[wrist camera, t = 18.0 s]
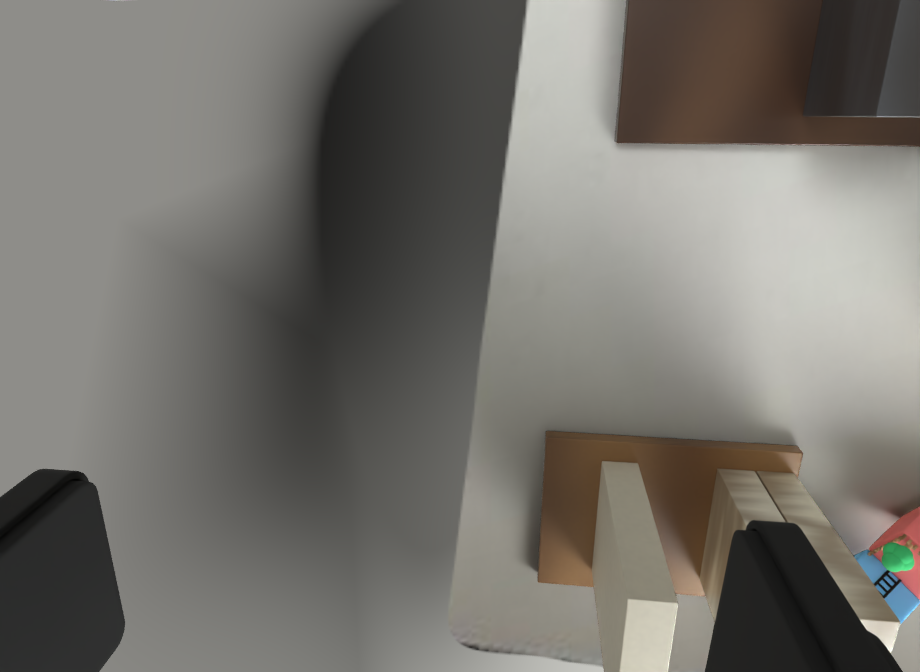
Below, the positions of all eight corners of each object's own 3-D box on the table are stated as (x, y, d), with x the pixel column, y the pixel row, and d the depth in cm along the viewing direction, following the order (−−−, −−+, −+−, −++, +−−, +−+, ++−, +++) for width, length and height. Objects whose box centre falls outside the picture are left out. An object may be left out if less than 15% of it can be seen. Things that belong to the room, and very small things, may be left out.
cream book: (591, 570, 46) (611, 735, 34) (601, 460, 43) (627, 598, 31) (625, 572, 46) (657, 740, 33) (638, 462, 43) (678, 602, 30)
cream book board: (537, 573, 48) (537, 748, 35) (545, 430, 44) (549, 566, 31) (767, 592, 46) (859, 784, 33) (797, 445, 42) (916, 596, 29)
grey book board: (614, 142, 37) (637, 150, 29) (634, -99, 33) (667, -171, 25) (965, 146, 35) (1100, 156, 27) (1031, -110, 31) (1215, -192, 23)
